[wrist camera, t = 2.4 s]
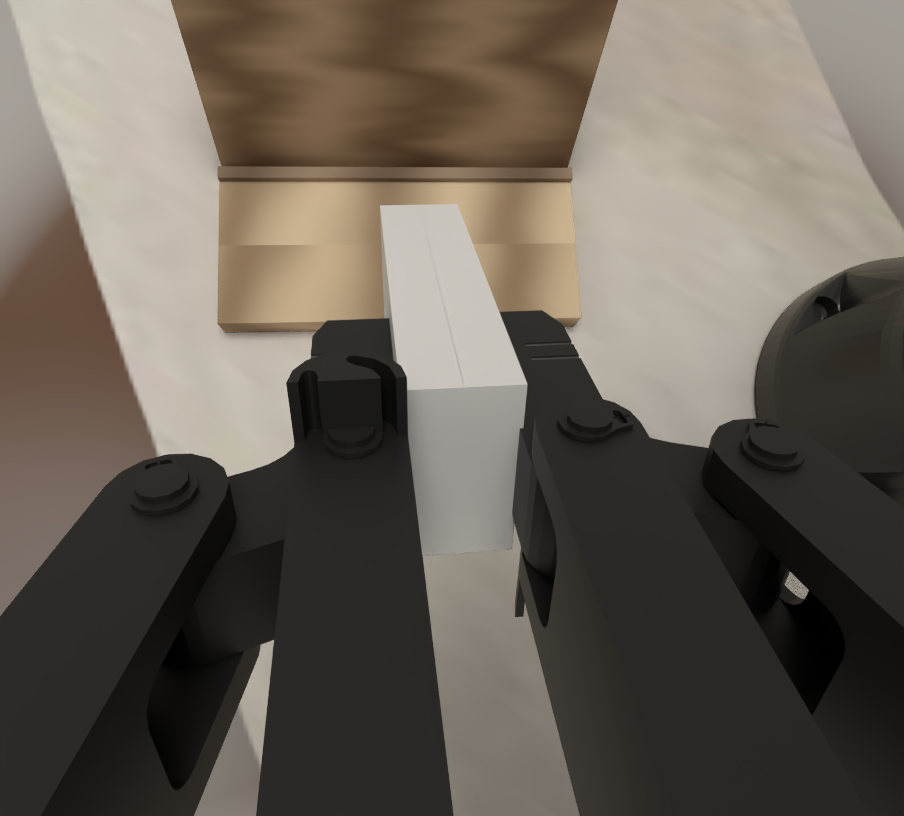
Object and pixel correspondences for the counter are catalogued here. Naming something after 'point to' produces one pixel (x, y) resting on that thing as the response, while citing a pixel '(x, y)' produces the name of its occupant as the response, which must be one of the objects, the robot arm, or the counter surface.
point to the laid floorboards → (359, 239)
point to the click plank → (394, 80)
